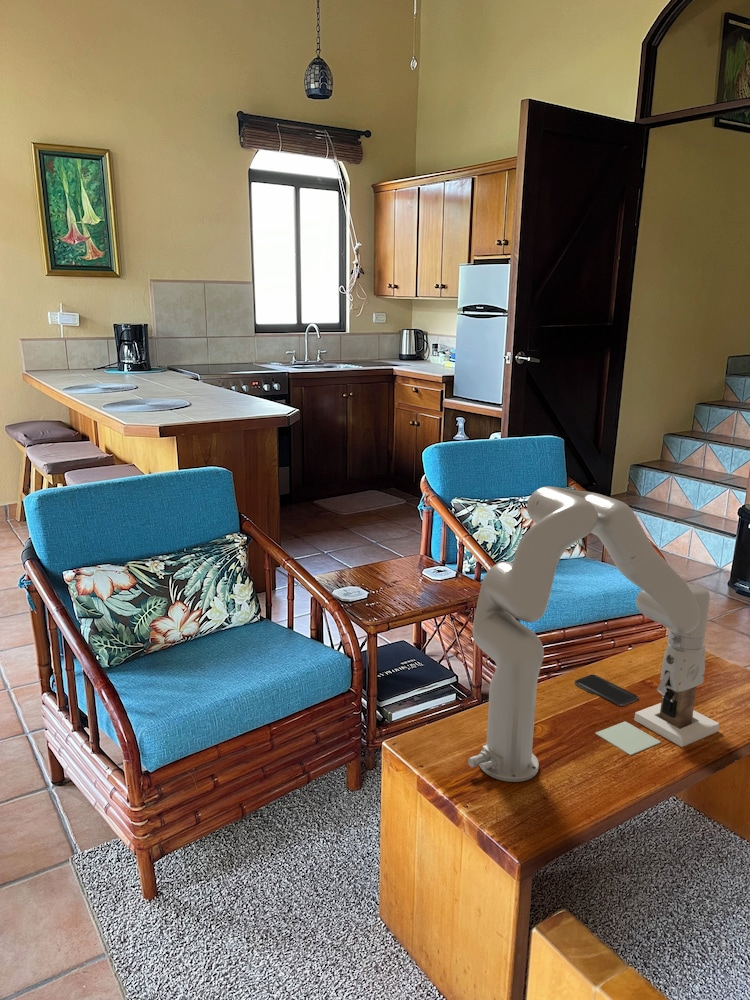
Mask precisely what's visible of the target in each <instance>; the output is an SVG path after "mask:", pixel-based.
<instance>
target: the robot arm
mask: <svg viewBox="0 0 750 1000" xmlns="http://www.w3.org/2000/svg"><path fill="white" fill-rule="evenodd" d="M526 505H527V506H526V510H527V515H528V516H529V518H530V520H532V522H533V523H535V524H533V525H532V526H531V527H530V528H529V529H528V530H527V531H526V532H525V533H524V534H523V535H522V537H521V538H520V540H519V542H518V545H517V547H516V550H515V554H514V557H513V561H501V562H498V563H495V564H494V565H493V566H492V567H490V568H489V569H488V571H487V572H486V574H485V575H484V577H483V580H482V582H481V585H480V590H479V594H478V597H477V603H476V607H475V608H476V609H475V613H474V619H473V621H472V622H473V624H472V637H473V641H474V642H475V644H476V646H477V647H479V649H480V650H481V652H483V653H485V654H486V656H488V657H489V658H490V659H491V660H493V661H494V663H495V665H496V668H495V672H494V673H493V675H492V678H491V680H490V683H489V689H488V691H489V692H488V715H487V727H486V728H487V729H486V731H487V732H486V744H484V745H482V750H481V751H480V752H479V754H478V755H477V754H476V755H473V756H470V757H468V758H467V763H468V765H469V767H470V768H474V767H477V766H479V767H480V769H481V770H482V771H483V772H484V773H485V774H486V775H488V776H490V777H491V778H493V779H496V780H498V781H503V782H510V783H512V782H513V783H519V782H524V781H528V780H530V779H532V778H534V777H535V776H536V775H537V774H538V772H539V767H540V765H539V764H540V763H539V760H538V758H537V756H536V755H535V754H534V753H533V743H534V742H533V741H534V729H535V728H534V727H535V714H536V700H537V691H538V690H537V687H538V681H539V676H540V671H541V669H542V666H543V661H544V655H545V649H544V645H543V643H542V640H541V639H540V638H539V637H538V635H537V634H536V633H535V632H534V631H533V630H531V629H530V628H529V627H527V626H526V625H525V624H523V623H522V622H520V621H523V622H526V623H534V622H537V621H539V620H540V619H542V618H543V616H544V615H545V613H546V611H547V608H548V605H549V601H550V597H551V593H552V589H553V585H554V584H553V583H554V579H555V575H556V572H557V568H558V564H559V562H560V559H561V557H562V556H563V554H564V553H565V552H566V551H567V549H568V548H571V546H572V545H573V544H575V543H576V542H578V541H579V540H581V539H584V538H585V537H587V536H588V535H589V534H593V535H595V536H596V537H598V538H599V540H600V542H601V544H602V545H603V547H604V548H605V549H606V552H608V554H609V556H610V557H611V559H612V561H613V563H614V564H615V566H616V568H617V570H618V571H619V572H620V574H621V575H623V576H624V577H625V578H626V579H627V580H629V581H630V582H631V583H632V584H634V585H636V586H637V587H638V588H639V589H641V590H640V591H639V592H638V594H637V596H636V597H635V599H636V600H635V605H636V608H637V610H638V611H639V612H640V613H641V614H642V615H643V616H645V617H646V618H648V619H650V620H652V621H653V622H655V623H657V624H660V625H661V626H663V627H666V628H667V629H668V635H667V645H666V648H665V651H664V655H663V660H662V663H661V664H662V665H661V671H660V682H659V684H658V686H657V688H656V691H658V693H660V694H661V698H662V697H663V698H664V699H663V707H662V712H663V713H664V714H666V715H668V716H670V717H672V718H674V717H675V715H676V707H677V702H676V701H675V700H676V697H677V694H678V692H682V691H685V690H688V689H690V688H693V687H696V688H697V687H698V686H700V685H702V684H703V683H704V680H705V679H704V678H705V671H706V647H705V646H706V645H705V638H706V629H707V621H708V614H709V610H710V609H709V607H710V599H711V595H710V592H709V591H708V590H707V588H705V587H703V586H700V585H696V584H690V583H686V581H685V580H684V579H683V578H682V577H681V576H680V575H679V574H678V572H676V571H675V570H674V568H672V567H671V565H669V563H668V562H667V561H666V560H665V559H664V558H663V557H662V556H661V555H660V554H659V553H658V552H657V551H656V549H655V547H654V546H653V544H652V543H651V541H650V539H649V537H648V536H647V534H646V532H645V530H644V528H643V526H642V525H641V523H640V521H639V519H638V517H637V515H636V514H635V511H634V510H633V509H632V508H631V507H630V506H629V505H628V504H627V503H625V502H623V501H621V500H618V499H617V498H612V497H610V496H607V495H603V494H600V493H596V492H591V491H585V490H578V489H571V488H570V489H569V488H563V487H557V486H550V485H549V486H543V487H539V488H538V489H536V490H535V491H534V492H532V494H531V495H530V496H529V498H528V500H527V504H526ZM517 619H518V620H519V621H518V620H517ZM670 684H671V685H670ZM669 689H671V690H673V693H672V695H671V694H670V692H669Z"/></svg>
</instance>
